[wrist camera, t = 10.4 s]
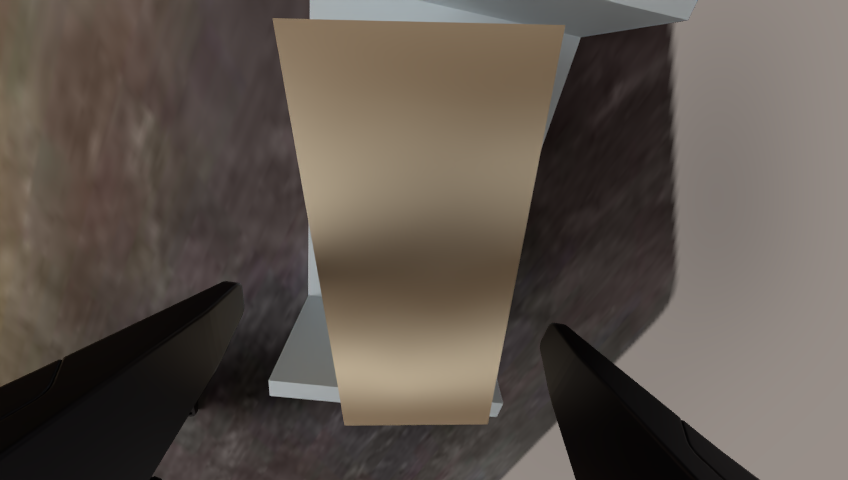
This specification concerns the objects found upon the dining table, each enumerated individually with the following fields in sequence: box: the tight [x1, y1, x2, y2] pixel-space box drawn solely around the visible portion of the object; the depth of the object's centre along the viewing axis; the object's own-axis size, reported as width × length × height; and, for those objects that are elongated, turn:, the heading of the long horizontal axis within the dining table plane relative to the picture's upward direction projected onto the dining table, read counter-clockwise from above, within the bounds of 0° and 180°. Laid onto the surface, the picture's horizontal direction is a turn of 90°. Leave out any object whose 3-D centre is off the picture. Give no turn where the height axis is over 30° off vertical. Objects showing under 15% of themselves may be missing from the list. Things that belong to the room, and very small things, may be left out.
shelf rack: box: [268, 0, 698, 417], centre depth 15 cm, size 19×12×8 cm, turn 170°
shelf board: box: [273, 18, 565, 425], centre depth 12 cm, size 14×6×4 cm, turn 179°
